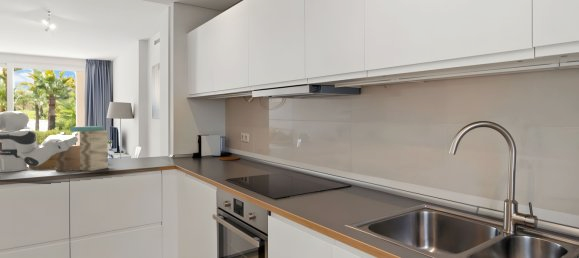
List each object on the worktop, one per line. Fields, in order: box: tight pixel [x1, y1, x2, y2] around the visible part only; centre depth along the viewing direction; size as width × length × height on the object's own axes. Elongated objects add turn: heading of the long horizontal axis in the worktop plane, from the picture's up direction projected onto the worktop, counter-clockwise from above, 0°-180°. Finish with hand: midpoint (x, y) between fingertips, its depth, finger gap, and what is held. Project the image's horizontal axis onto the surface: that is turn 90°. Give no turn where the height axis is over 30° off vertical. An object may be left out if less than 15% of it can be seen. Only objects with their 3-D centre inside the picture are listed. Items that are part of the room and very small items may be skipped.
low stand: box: [55, 144, 80, 172], centre depth 227 cm, size 8×14×16 cm, turn 166°
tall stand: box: [79, 129, 109, 171], centre depth 230 cm, size 9×14×26 cm, turn 166°
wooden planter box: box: [28, 155, 56, 170], centre depth 242 cm, size 25×25×11 cm
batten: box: [69, 125, 105, 133], centre depth 225 cm, size 3×24×3 cm, turn 166°
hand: (70, 133), depth 212 cm, fingers open, 8 cm apart
